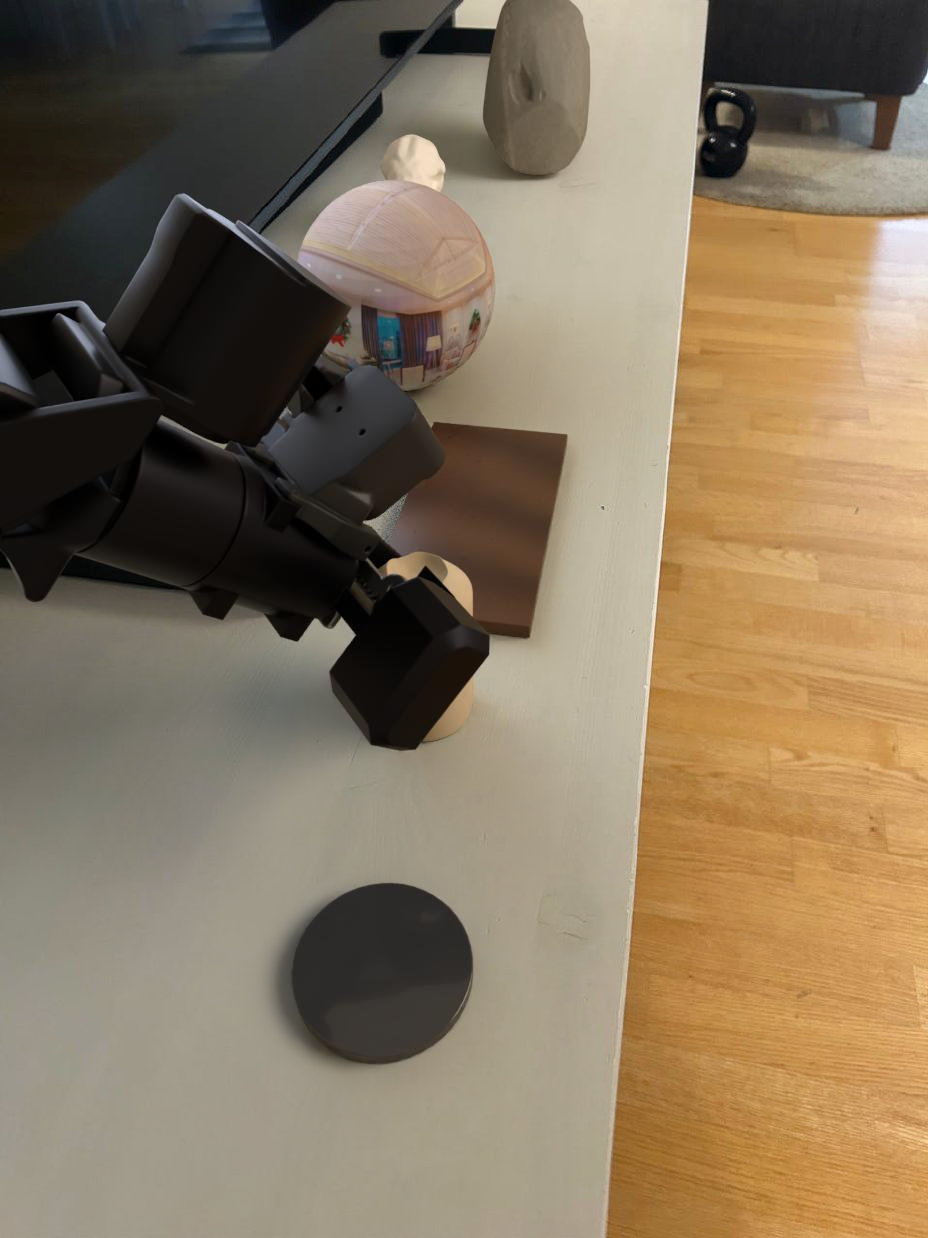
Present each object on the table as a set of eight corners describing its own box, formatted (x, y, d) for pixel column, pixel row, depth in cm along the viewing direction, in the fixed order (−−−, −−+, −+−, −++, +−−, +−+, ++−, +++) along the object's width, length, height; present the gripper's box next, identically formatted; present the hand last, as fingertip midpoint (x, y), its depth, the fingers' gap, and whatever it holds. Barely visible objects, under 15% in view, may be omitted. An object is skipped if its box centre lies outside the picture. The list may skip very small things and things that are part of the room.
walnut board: (529, 638, 58) (530, 626, 57) (366, 618, 59) (365, 606, 59) (567, 445, 72) (567, 433, 71) (433, 432, 73) (433, 421, 73)
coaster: (350, 1103, 40) (348, 1097, 39) (262, 950, 44) (259, 942, 44) (509, 994, 43) (509, 985, 42) (411, 861, 48) (410, 852, 47)
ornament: (297, 344, 83) (269, 160, 72) (468, 320, 85) (466, 139, 75) (323, 443, 72) (295, 245, 62) (517, 412, 75) (522, 217, 64)
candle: (439, 758, 52) (432, 625, 45) (354, 717, 54) (336, 583, 47) (491, 691, 55) (493, 557, 48) (409, 654, 57) (400, 521, 50)
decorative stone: (481, 183, 107) (480, 27, 96) (485, 128, 119) (485, -16, 108) (591, 183, 106) (603, 26, 96) (584, 127, 118) (594, -17, 108)
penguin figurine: (445, 127, 94) (430, 188, 87) (449, 212, 101) (434, 275, 93) (381, 125, 95) (360, 186, 87) (388, 210, 101) (369, 273, 94)
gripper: (442, 468, 31) (661, 591, 43) (214, 253, 42) (438, 398, 54) (252, 731, 33) (509, 779, 45) (84, 463, 45) (326, 557, 57)
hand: (442, 610), depth 50 cm, fingers closed on candle, 5 cm apart
